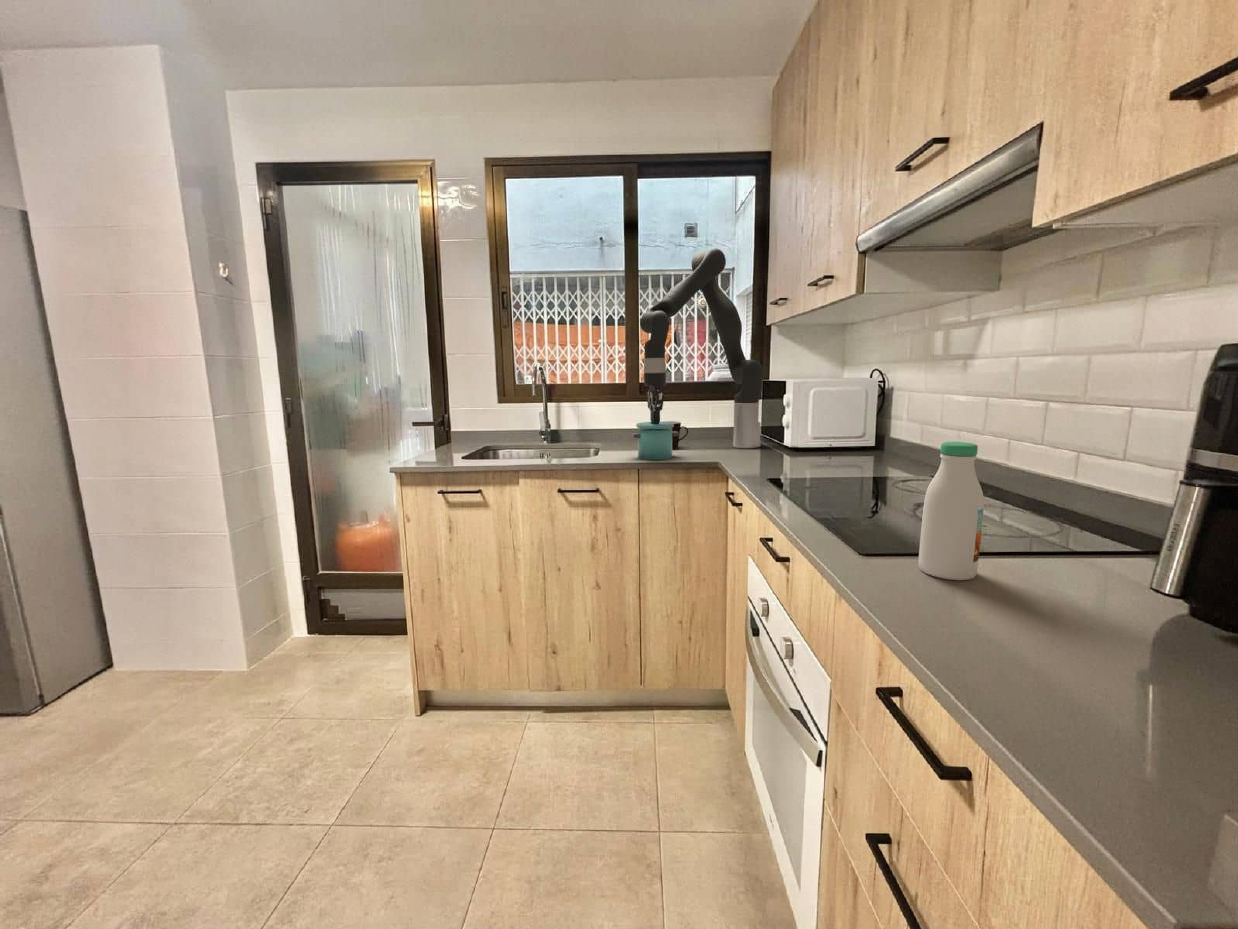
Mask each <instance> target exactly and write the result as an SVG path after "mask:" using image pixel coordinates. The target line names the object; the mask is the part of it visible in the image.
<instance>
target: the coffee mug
mask: <svg viewBox="0 0 1238 929" xmlns="http://www.w3.org/2000/svg"><path fill="white" fill-rule="evenodd" d="M662 422H671V423H674V427H671V428H672V431H676V432H679V436H672V450H675V449H676V450H678V449H679V442H680V441H682V440H683V439H684V438H686V437H687V436H688V434H689V429H688V428H687V426H684V425H682V426H681V424H682V422H681V421H677V420H676V421H675V420H667V421H666V420H665V421H662ZM681 429H685V430H686V433H685V434H684V436H682V437H681V438H680V432H681Z"/></svg>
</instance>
